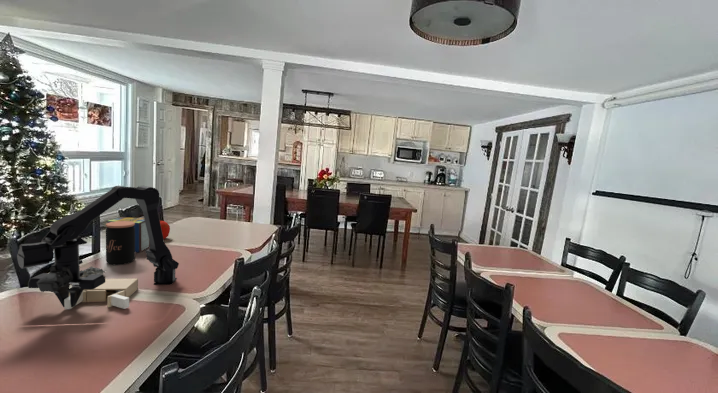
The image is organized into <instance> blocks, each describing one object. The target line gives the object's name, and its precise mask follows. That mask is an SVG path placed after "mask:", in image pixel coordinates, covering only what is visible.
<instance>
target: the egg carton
mask: <svg viewBox="0 0 718 393" xmlns="http://www.w3.org/2000/svg"><path fill="white" fill-rule="evenodd" d="M106 271H107V270H106V269H103V268H98V267H94V266H89V267H88V268H84V269H83V270H82V269H81V270H80V272H83V275H82V276H80V278H86V277H87V276H89V275H91V274H95V275H104V273H106ZM104 276H105V275H104Z"/></svg>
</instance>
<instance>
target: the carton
mask: <svg viewBox="0 0 718 393" xmlns="http://www.w3.org/2000/svg"><path fill="white" fill-rule="evenodd" d="M84 290H87V291H86V293H87V297H86V302H87V303H92V302H94V303H95V302H107V301H108V300H107V296H110V295H113V294H115V290H126V297H129V298H130V297H131V295H133V294H134V293H135V292H136V291H137V290H139V278H105V283H103V284H102V285H100V286H98V287H96V288H95V289H84Z"/></svg>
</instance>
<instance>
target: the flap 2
mask: <svg viewBox="0 0 718 393" xmlns="http://www.w3.org/2000/svg"><path fill="white" fill-rule="evenodd" d="M106 301H107V308H111V307H117V308H120V309H124V310H125V309H127V308H130V297H126V290H124V291H121V292H118V293H115V294H113V295H110V296H107V300H106Z"/></svg>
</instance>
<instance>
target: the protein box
mask: <svg viewBox="0 0 718 393" xmlns="http://www.w3.org/2000/svg"><path fill="white" fill-rule="evenodd" d="M116 221H131V222H134V223H135V225H134V228H135V253H141V252H143V251H145V250H147V249H149V248H148V247H150V241H149V237H148V232H147V228H146V224H145V219H144V217H142V218H140V217H126V216H123V217H122V216H120V217H117V218H112V219H110V220H107V221H106V224H107V223H109V222H116ZM146 248H147V249H146ZM144 249H145V250H144ZM142 250H143V251H142ZM140 251H141V252H140Z"/></svg>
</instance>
